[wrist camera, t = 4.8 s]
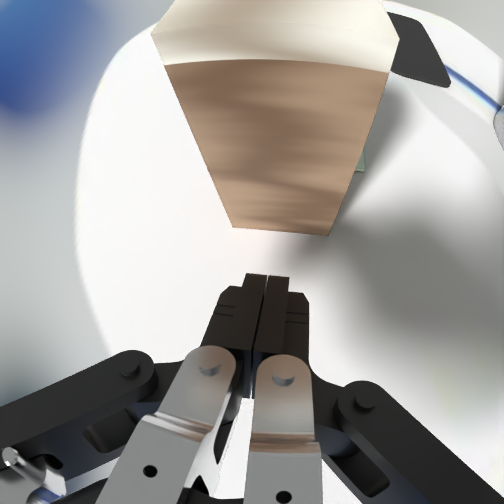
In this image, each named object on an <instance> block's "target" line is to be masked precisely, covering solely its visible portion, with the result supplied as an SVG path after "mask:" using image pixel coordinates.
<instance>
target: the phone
mask: <svg viewBox="0 0 504 504" xmlns="http://www.w3.org/2000/svg"><path fill="white" fill-rule="evenodd" d="M387 14H388V16H389V18H390V20H391V22H392V24H393V26H394V28H395V30H396V32H397V34H398V37H399V42H398V46H397V49H396V53H395V56H394V59H393V62H392V66H391V69H390V71H392V72H394V73H396V74H398V75H400V76H402V77H406V78H410V79H413V80H417V81H421V82H424V83H428V84H431V85H434V86H437V87H439V86H441V87H444V88H448V87H449V86H450V84H451V80H450V78H449V75H448V73H447V71H446V69H445V67H444V65H443V63H442V61H441V59H440V57H439V55H438V53H437V51H436V49H435V47H434V45H433V43H432V41H431V39H430V38H429V36H428V34H427V32H426V31H425V29H424V27H423V25H422V24H421V23H420V22H419V21H417V20H415V19H412V18H409V17H405V16H402V15H398V14H394V13H390V12H387Z"/></svg>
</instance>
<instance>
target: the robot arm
mask: <svg viewBox="0 0 504 504" xmlns="http://www.w3.org/2000/svg"><path fill="white" fill-rule="evenodd" d="M494 127H495V131H496V135H497V137H498V140H499V142H500V144H501V146H502V148H503V150H504V105H503V106H502V108H501V109H500V111H499V112H498V113H497V115H496V116H495V119H494ZM288 287H289V277H282V276H271V275H269V276H268V281H267V275H260V274H250V273H246V275H245V279H244V282H243V285H242V287H238V286H229V287H228V288H227V289H226V290H224V291H223V292H222V293H221V294H220V297H219V299H218V302H217V306H216V307H215V309H214V312H213V315H212V317H211V319H210V322H209V325H208V327H207V330H206V332H205V335H204V337H203V340H202V342H201V345H200V347H199V348H196V349H194V350H193V351H191V352H190V353H189V354H188V355H187V356H186V358H185V359H184V360H182V361H179V362H172V363H153V360H152V359H151V357H150V356H149V355H147V354H146V353H144V352H142V351H138V350H128V351H123V352H121V353H118V354H116V355H114V356H112V357H110V358H108V359H106V360H104V361H102V362H100V363H98V364H95V365H93V366H91V367H89V368H87V369H85V370H83V371H80V372H78V373H76V374H74V375H72V376H69V377H67V378H65V379H63V380H61V381H59V382H56V383H54V384H52V385H50V386H47V387H45V388H43V389H41V390H39V391H36V392H34V393H32V394H29V395H27V396H25V397H23V398H20V399H18V400H16V401H13V402H11V403H9V404H6V405H4V406H1V407H0V504H323V492H322V461H321V458H322V459H323V460H324V462H325V463H326V464H327V465H328V466H329V467H330V468H331V470H332V471H333V472H334V473H335V474H336V475H337V476H338V478H339V479H340V480H341V481H342V482H343V483H344V484H345V485H346V486H347V487H348V489H349V490H350V491H351V492H352V493H353V494H354V495H355V496H356V497H357V498H358V499H359V500H360V501H361V503H362V504H504V498H503V497H502V496H501V495H500V494H499V493H498V492H497V491H495V490H494V489H493V488H492V487H491V486H490V485H489V484H487V483H486V482H485V481H484V480H483V479H482V478H481V477H480V476H478V475H477V474H476V473H475V472H474V471H473V470H472V469H471V468H470V467H468V466H467V465H466V464H465V463H464V462H463V461H462V460H461V459H459V458H458V457H457V456H456V455H455V454H454V453H453V452H452V451H451V450H449V449H448V448H447V447H446V446H445V445H444V444H443V443H442V442H441V441H440V440H438V439H437V438H436V437H435V436H434V435H433V434H432V433H431V432H430V431H429V430H427V429H426V428H425V427H424V426H423V425H422V424H421V423H420V422H419V421H418V420H416V419H415V418H414V417H413V416H412V415H411V414H410V413H409V412H408V411H407V410H406V409H404V408H403V407H402V406H401V405H400V404H399V403H398V402H397V401H396V400H395V399H394V398H393V397H391V396H390V395H389V394H388V393H387V392H386V391H385V390H384V389H383V388H381V387H380V386H379V385H377V384H375V383H373V382H369V381H354V382H351V383H349V384H347V385H346V386H345V387H341V386H338V385H335V384H332V383H329V382H326V381H324V380H322V379H321V378H319V377H318V376H317V375H316V374H315V373H314V372H313V371H312V369H311V367H310V365H309V302H308V300H307V299H306V297H305V295H304V294H303V293H298V292H288ZM251 389H252V399H254V409H253V420H252V430H251V439H250V445H249V455H248V464H247V474H246V483H245V493H244V498H239V499H216V498H214V495H215V492H216V489H217V486H218V482H219V477H220V470H221V466H222V463H223V460H224V457H225V454H226V451H227V448H228V445H229V442H230V439H231V436H232V433H233V430H234V427H235V424H236V421H237V417H238V412H239V409H240V404H241V400H242V398H249V399H250V394H251ZM119 456H120V458H119V460H118V461H117V463H116V465H115V467H114V469H113V471H112V473H111V474H110V476H109V478H105V479H102V480H99V481H97V482H95V483H93V484H91V485H89V486H87V487H85V488H83V489H81V490H79V491H77V492H75V493H72V494H70V495H68V496H66V497H64V496H65V494H66V488H65V481H67V480H69V479H72V478H74V477H77V476H79V475H81V474H83V473H86V472H88V471H90V470H92V469H95V468H97V467H99V466H101V465H103V464H105V463H107V462H109V461H111V460H113V459H115V458H117V457H119ZM61 497H63V498H61ZM58 498H61V499H59V500H57V499H58ZM55 500H57V501H55Z"/></svg>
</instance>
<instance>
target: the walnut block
mask: <svg viewBox="0 0 504 504" xmlns="http://www.w3.org/2000/svg"><path fill="white" fill-rule="evenodd" d="M151 36H152V38H153V41H154V43H155V45H156V48H157V50H158V53H159V55H160V57H161V60H162V62H163V65H164V67H165V69H166V72H167V74H168V77H169V79H170V81H171V84H172V86H173V88H174V91H175V93H176V96H177V98H178V100H179V103H180V105H181V107H182V110H183V112H184V115H185V117H186V119H187V122H188V124H189V126H190V129H191V131H192V133H193V136H194V138H195V140H196V143H197V145H198V147H199V150H200V152H201V154H202V157H203V159H204V162H205V164H206V166H207V169H208V171H209V173H210V176H211V178H212V180H213V182H214V185H215V187H216V189H217V192H218V194H219V196H220V199H221V201H222V203H223V206H224V208H225V210H226V213H227V215H228V217H229V220H230V222H231V224H232V227H234V228H246V229H258V230H270V231H282V232H293V233H304V234H315V235H325V236H328V234H329V232H330V230H331V228H332V225H333V223H334V220H335V218H336V216H337V213H338V211H339V209H340V206H341V204H342V201H343V199H344V196H345V194H346V191H347V189H348V186H349V184H350V181H351V179H352V176H353V174H354V171H355V169H356V166H357V164H358V161H359V158H360V156H361V153H362V150H363V148H364V145H365V142H366V140H367V137H368V134H369V131H370V129H371V126H372V123H373V120H374V117H375V114H376V112H377V109H378V106H379V103H380V100H381V97H382V94H383V91H384V88H385V85H386V82H387V78H388V75H389V72H390V69H391V66H392V62H393V59H394V56H395V53H396V49H397V46H398V42H399V37H398V34H397V32H396V30H395V28H394V26H393V24H392V22H391V20H390V18H389V16H388V14H387V12H386V10H385V8H384V6H383V4H382V2H381V1H380V0H175V2H174V3H173V4H172V6H171V7H170V8H169V9H168V11H167V12H166V13H165V14H164V16H163V17H162V18H161V20H160V21H159V22H158V24H157V25H156V27H155V28H154V29H153V31H152V32H151Z"/></svg>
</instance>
